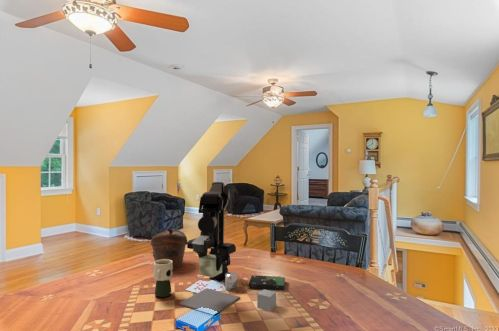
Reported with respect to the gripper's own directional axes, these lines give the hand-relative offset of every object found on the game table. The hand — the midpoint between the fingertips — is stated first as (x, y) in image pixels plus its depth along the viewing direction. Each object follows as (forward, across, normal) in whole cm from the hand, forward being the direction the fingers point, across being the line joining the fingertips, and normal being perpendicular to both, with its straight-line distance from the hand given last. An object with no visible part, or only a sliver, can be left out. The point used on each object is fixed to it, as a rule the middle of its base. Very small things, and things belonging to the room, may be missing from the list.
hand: (210, 269), depth 116 cm
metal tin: (+12, 0, +14) cm, 18 cm away
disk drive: (+13, +11, +25) cm, 30 cm away
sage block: (+2, 0, 0) cm, 2 cm away
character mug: (+12, -19, -5) cm, 23 cm away
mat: (+12, 0, 0) cm, 12 cm away
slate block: (+12, +20, +7) cm, 24 cm away
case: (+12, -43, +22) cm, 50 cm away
